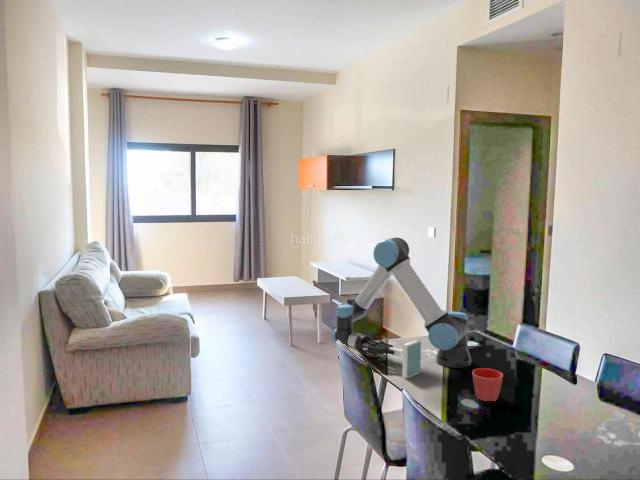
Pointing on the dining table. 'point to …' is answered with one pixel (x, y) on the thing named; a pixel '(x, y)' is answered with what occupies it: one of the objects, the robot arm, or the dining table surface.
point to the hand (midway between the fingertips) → (401, 353)
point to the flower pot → (487, 383)
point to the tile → (411, 358)
